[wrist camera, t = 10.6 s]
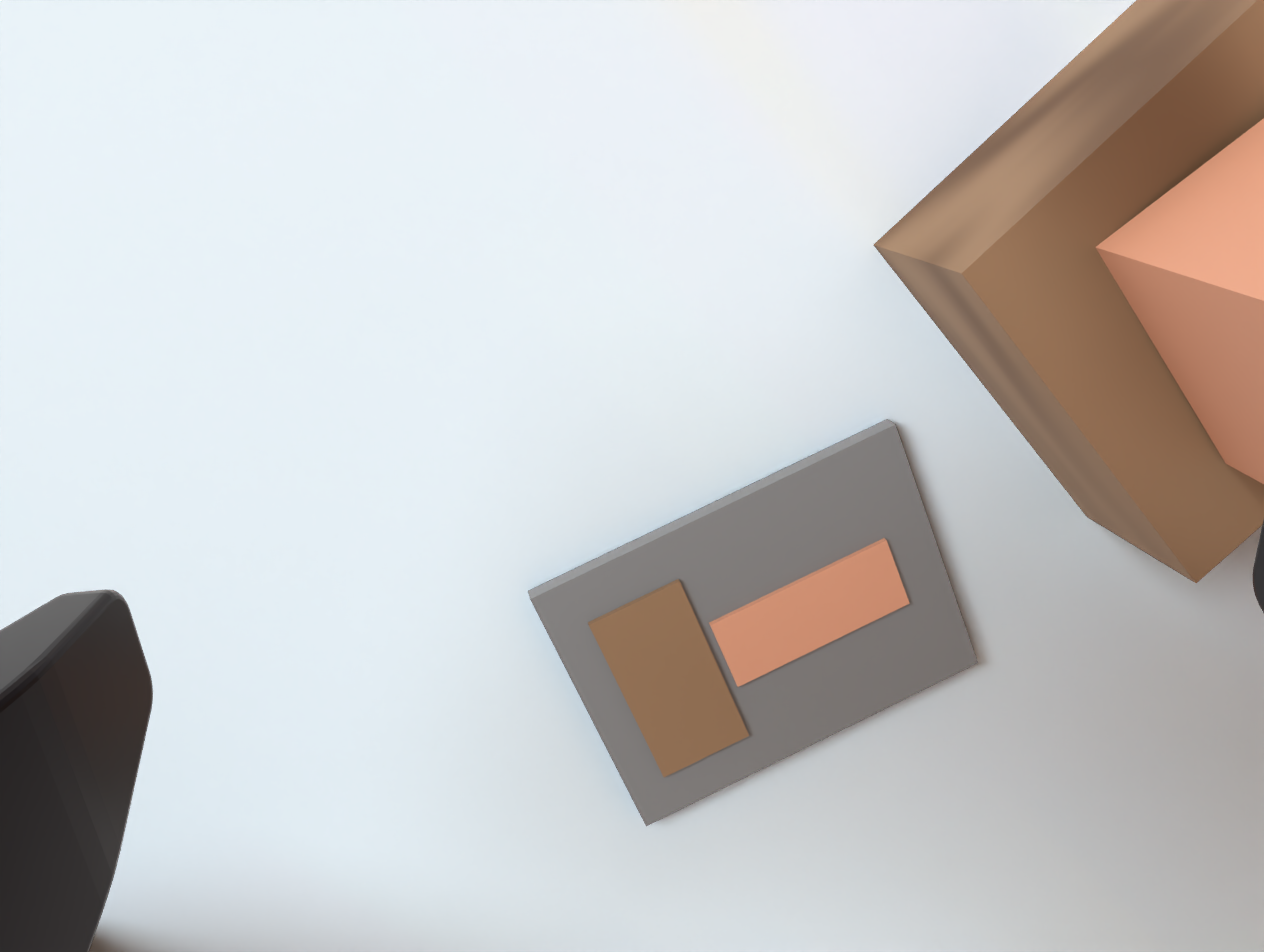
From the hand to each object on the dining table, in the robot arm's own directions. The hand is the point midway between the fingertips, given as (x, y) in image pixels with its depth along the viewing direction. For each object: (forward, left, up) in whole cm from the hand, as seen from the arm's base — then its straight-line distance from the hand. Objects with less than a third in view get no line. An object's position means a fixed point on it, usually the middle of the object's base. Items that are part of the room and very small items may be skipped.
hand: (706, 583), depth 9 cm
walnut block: (+12, -4, -14) cm, 18 cm away
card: (+2, -8, -13) cm, 16 cm away
